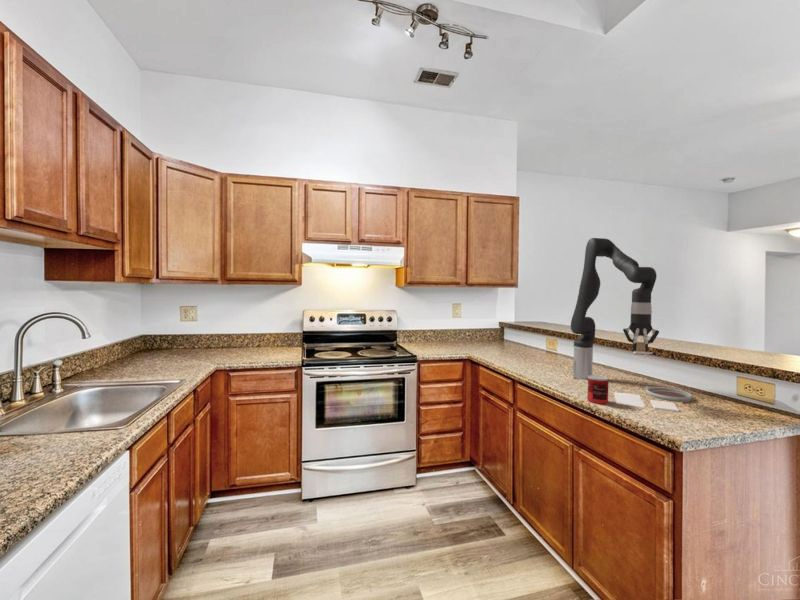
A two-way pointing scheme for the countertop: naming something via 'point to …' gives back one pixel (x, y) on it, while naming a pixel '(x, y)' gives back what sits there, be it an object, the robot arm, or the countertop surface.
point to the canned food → (598, 389)
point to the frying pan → (668, 393)
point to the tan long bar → (641, 349)
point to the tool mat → (628, 399)
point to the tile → (664, 405)
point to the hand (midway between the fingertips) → (639, 351)
